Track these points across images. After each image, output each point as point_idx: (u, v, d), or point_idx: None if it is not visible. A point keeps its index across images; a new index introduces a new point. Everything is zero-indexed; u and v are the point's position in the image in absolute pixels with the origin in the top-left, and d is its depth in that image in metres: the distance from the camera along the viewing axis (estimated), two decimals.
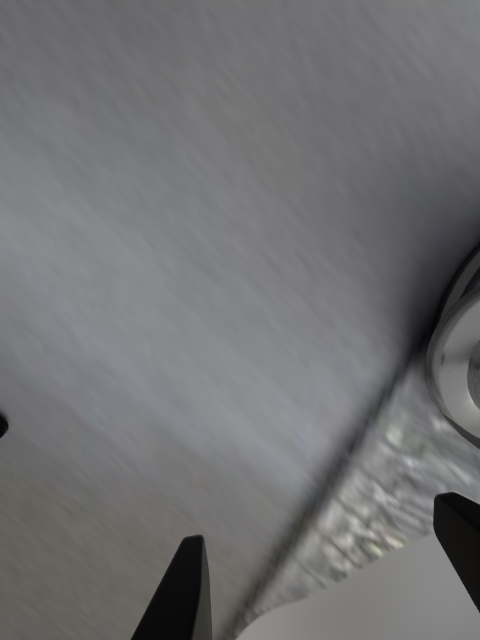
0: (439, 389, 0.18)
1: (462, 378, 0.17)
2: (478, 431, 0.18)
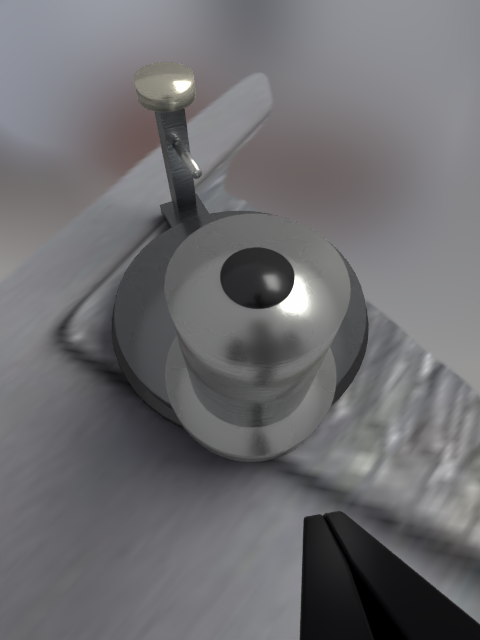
0: (282, 451, 0.16)
1: (266, 431, 0.16)
2: (326, 400, 0.17)
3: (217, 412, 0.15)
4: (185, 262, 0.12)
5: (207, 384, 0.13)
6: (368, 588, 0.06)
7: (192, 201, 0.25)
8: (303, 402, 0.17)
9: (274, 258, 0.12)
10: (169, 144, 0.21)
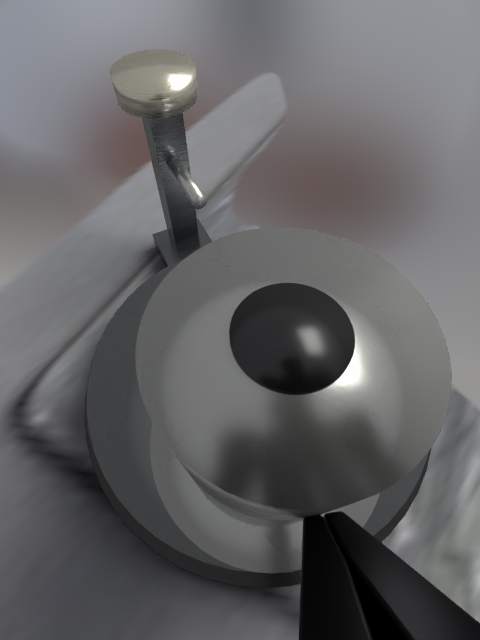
0: None
1: (291, 533, 0.11)
2: None
3: (222, 510, 0.11)
4: (172, 308, 0.07)
5: (208, 493, 0.08)
6: (369, 588, 0.06)
7: (193, 231, 0.20)
8: None
9: (317, 301, 0.07)
10: (162, 161, 0.16)
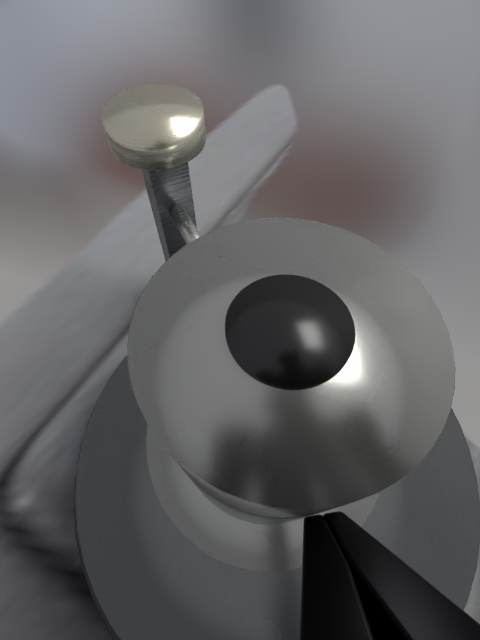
0: None
1: (290, 531, 0.11)
2: None
3: (219, 507, 0.11)
4: (165, 300, 0.07)
5: (204, 491, 0.08)
6: (368, 588, 0.06)
7: None
8: None
9: (316, 294, 0.07)
10: (163, 210, 0.14)
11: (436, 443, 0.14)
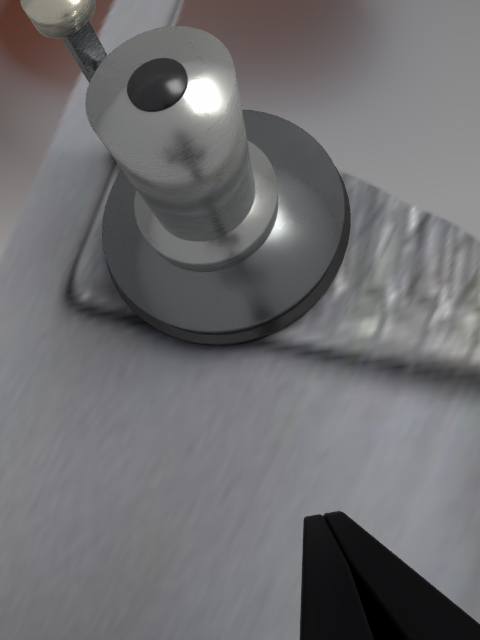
0: (245, 249, 0.20)
1: (228, 238, 0.19)
2: (270, 199, 0.20)
3: (183, 232, 0.19)
4: (98, 94, 0.14)
5: (158, 199, 0.16)
6: (368, 588, 0.06)
7: None
8: (252, 207, 0.20)
9: (167, 64, 0.14)
10: (90, 69, 0.20)
11: (316, 175, 0.21)
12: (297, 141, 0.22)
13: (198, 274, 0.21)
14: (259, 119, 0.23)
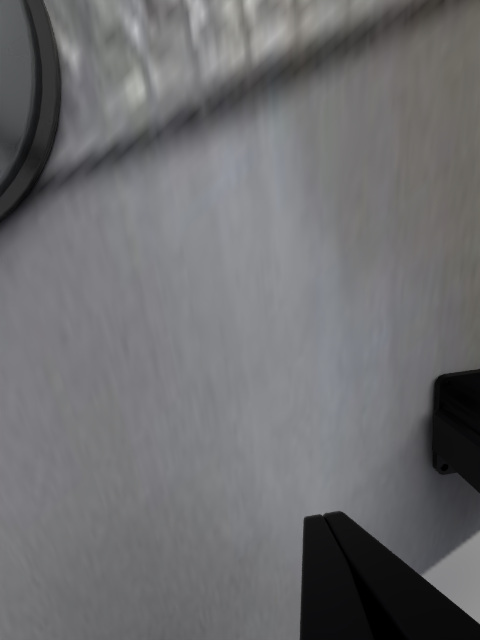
0: None
1: None
2: None
3: None
4: None
5: None
6: (368, 588, 0.06)
7: None
8: None
9: None
10: None
11: None
12: None
13: None
14: None
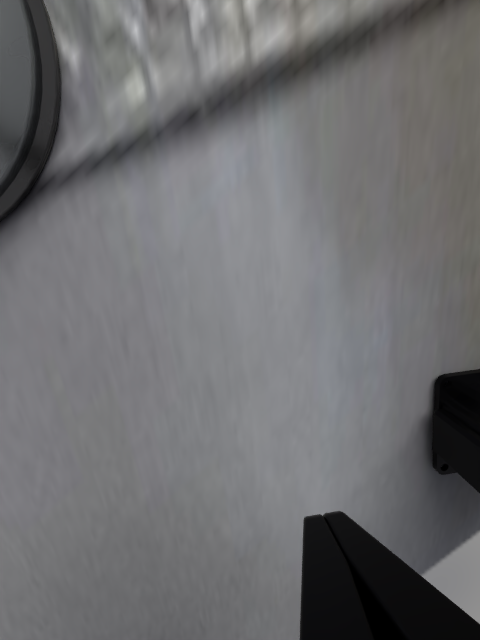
0: None
1: None
2: None
3: None
4: None
5: None
6: (368, 588, 0.06)
7: None
8: None
9: None
10: None
11: None
12: None
13: None
14: None
